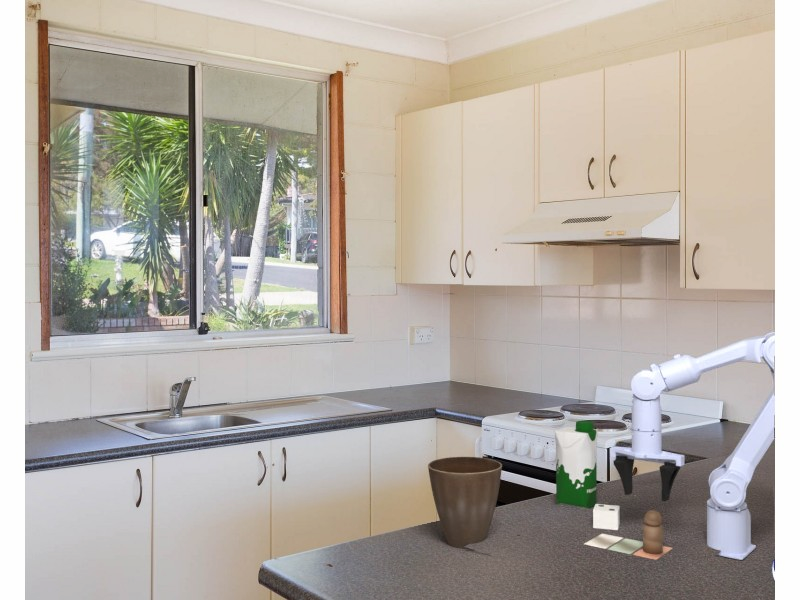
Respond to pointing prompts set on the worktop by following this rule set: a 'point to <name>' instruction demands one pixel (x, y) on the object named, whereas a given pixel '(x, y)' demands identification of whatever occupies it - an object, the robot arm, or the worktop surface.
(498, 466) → the plant pot
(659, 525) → the pawn
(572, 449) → the milk carton
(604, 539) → the board
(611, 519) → the die
